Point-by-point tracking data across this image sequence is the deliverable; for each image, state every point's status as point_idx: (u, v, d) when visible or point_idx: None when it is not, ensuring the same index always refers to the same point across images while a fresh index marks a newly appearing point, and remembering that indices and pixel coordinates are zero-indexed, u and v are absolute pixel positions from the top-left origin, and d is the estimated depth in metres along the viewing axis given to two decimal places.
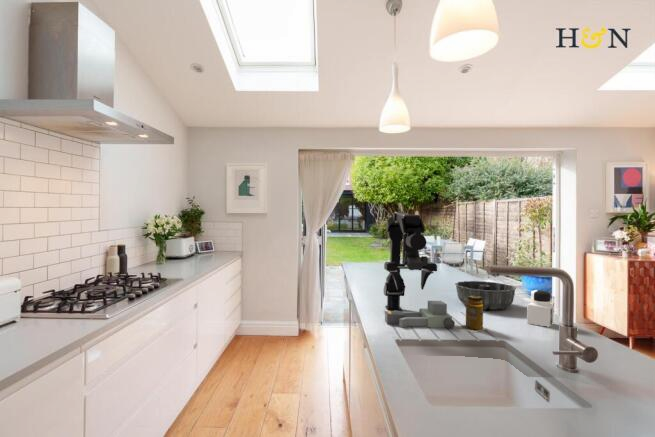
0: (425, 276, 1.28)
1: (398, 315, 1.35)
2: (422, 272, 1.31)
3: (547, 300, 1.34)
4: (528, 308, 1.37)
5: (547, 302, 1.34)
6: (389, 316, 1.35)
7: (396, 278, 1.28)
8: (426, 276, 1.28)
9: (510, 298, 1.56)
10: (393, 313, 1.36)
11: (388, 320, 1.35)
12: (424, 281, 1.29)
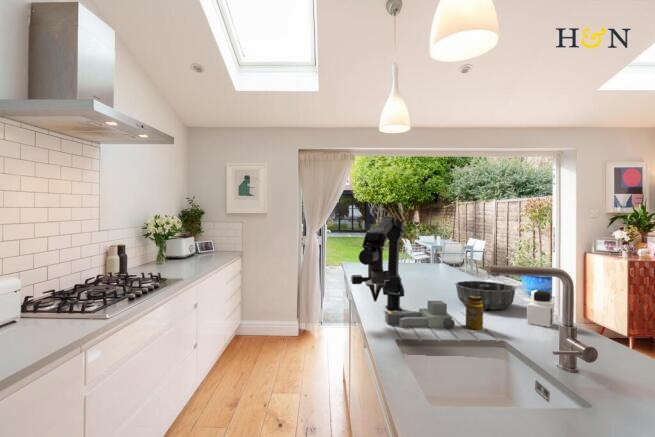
0: (378, 289, 1.36)
1: (399, 315, 1.35)
2: (376, 285, 1.38)
3: (547, 300, 1.34)
4: (528, 308, 1.37)
5: (547, 302, 1.34)
6: (390, 316, 1.35)
7: (373, 291, 1.36)
8: (379, 289, 1.36)
9: (510, 298, 1.56)
10: (393, 313, 1.36)
11: (388, 320, 1.35)
12: (377, 293, 1.36)
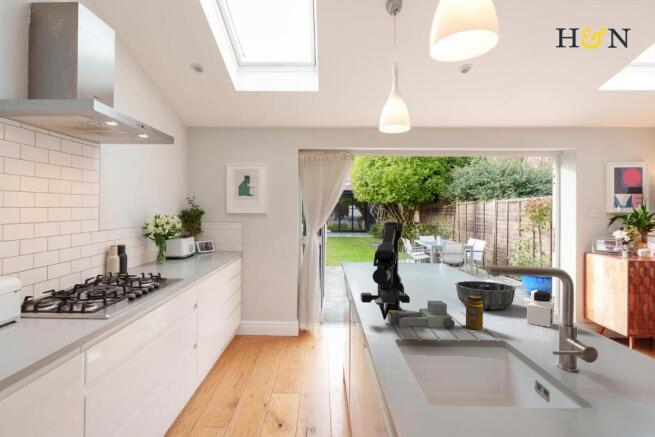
0: (387, 307, 1.36)
1: (401, 314, 1.35)
2: (385, 303, 1.38)
3: (547, 300, 1.34)
4: (528, 308, 1.37)
5: (547, 302, 1.34)
6: (392, 316, 1.35)
7: (382, 309, 1.36)
8: (388, 307, 1.36)
9: (510, 298, 1.56)
10: (396, 313, 1.36)
11: (391, 320, 1.35)
12: (386, 312, 1.36)
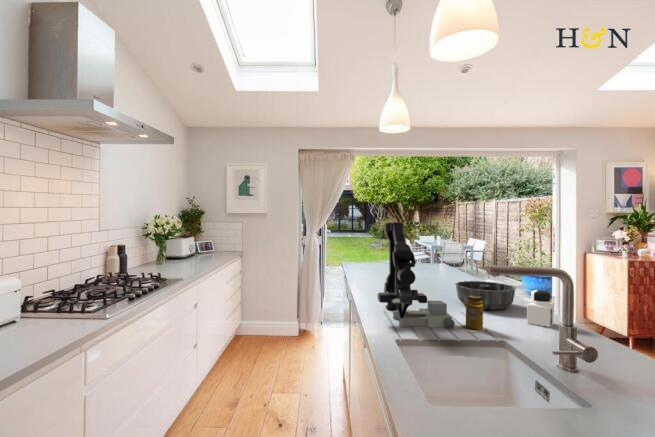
0: (404, 307, 1.36)
1: (418, 314, 1.35)
2: (402, 303, 1.39)
3: (547, 300, 1.34)
4: (528, 308, 1.37)
5: (547, 302, 1.34)
6: (409, 316, 1.35)
7: (400, 309, 1.36)
8: (405, 307, 1.36)
9: (510, 298, 1.56)
10: (413, 312, 1.37)
11: None
12: (403, 312, 1.36)
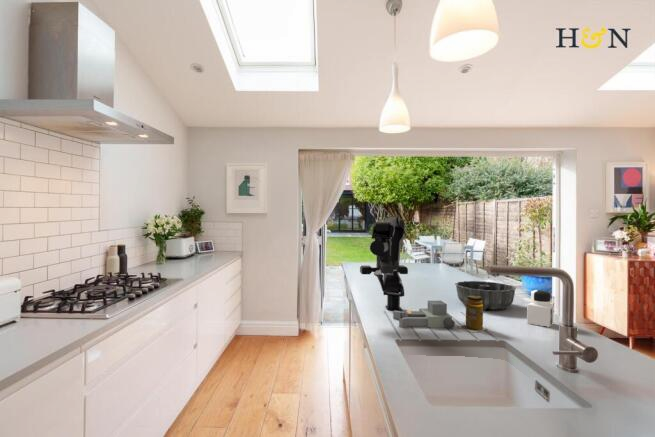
0: (386, 279, 1.39)
1: (418, 315, 1.35)
2: (384, 275, 1.42)
3: (547, 300, 1.34)
4: (528, 308, 1.37)
5: (547, 302, 1.34)
6: (409, 316, 1.35)
7: (381, 281, 1.39)
8: (387, 279, 1.39)
9: (510, 298, 1.56)
10: (413, 313, 1.37)
11: None
12: (385, 283, 1.40)
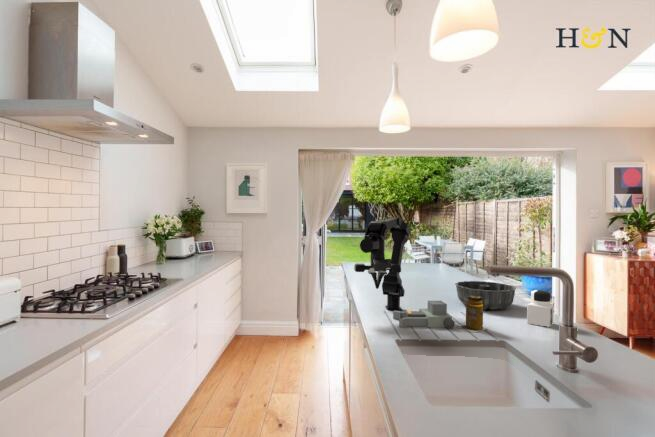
0: (380, 276, 1.42)
1: (418, 315, 1.35)
2: (378, 273, 1.45)
3: (547, 300, 1.34)
4: (528, 308, 1.37)
5: (547, 302, 1.34)
6: (409, 316, 1.35)
7: (375, 278, 1.43)
8: (381, 276, 1.42)
9: (510, 298, 1.56)
10: (413, 313, 1.37)
11: None
12: (379, 281, 1.43)
